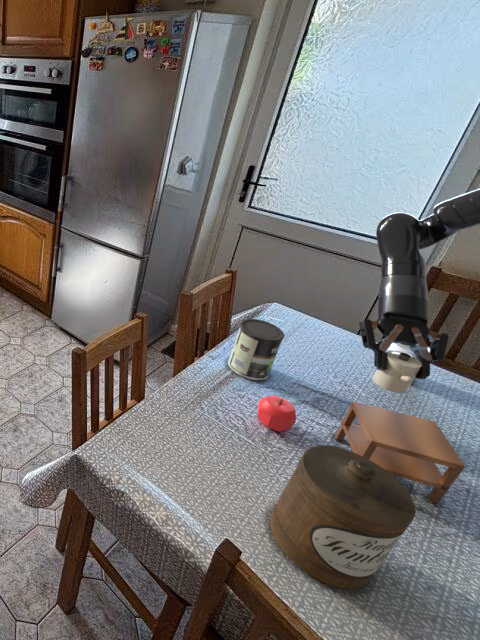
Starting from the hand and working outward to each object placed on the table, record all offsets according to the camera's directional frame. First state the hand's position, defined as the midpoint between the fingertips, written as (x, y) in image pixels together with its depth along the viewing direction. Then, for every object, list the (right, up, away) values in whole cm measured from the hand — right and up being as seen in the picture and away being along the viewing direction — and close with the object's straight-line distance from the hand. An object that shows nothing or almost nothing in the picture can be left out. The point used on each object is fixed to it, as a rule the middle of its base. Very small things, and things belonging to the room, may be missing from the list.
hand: (401, 374), depth 87 cm
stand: (+1, -22, +5) cm, 23 cm away
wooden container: (-26, -30, -10) cm, 40 cm away
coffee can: (-9, -8, +34) cm, 36 cm away
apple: (-16, -17, +16) cm, 28 cm away
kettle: (0, -4, +2) cm, 4 cm away
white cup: (+32, -9, +31) cm, 45 cm away
